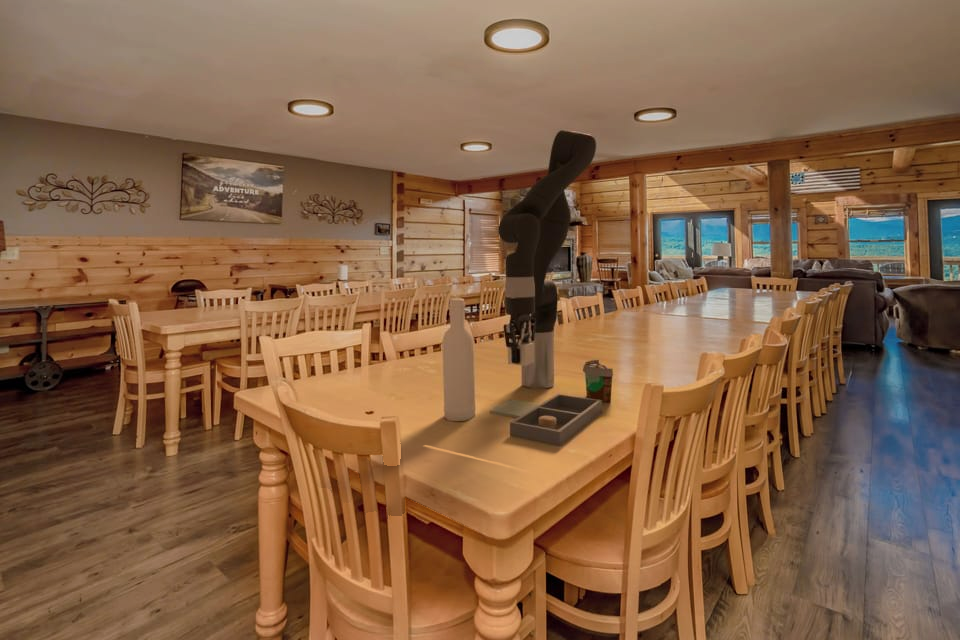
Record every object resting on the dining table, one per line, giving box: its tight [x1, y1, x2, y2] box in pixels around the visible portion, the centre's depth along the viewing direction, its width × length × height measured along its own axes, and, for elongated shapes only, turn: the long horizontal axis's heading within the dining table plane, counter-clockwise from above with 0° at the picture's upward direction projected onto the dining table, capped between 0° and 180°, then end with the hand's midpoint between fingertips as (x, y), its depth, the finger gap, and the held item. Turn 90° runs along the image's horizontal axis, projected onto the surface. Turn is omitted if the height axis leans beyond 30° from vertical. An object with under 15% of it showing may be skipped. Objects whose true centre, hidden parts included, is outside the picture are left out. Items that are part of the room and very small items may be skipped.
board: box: [489, 399, 541, 419], centre depth 127 cm, size 11×11×1 cm
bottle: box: [441, 297, 476, 422], centre depth 122 cm, size 8×8×30 cm
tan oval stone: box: [539, 416, 556, 430], centre depth 112 cm, size 4×4×3 cm
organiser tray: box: [509, 393, 603, 447], centre depth 117 cm, size 12×26×4 cm, turn 147°
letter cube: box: [507, 342, 534, 366], centre depth 125 cm, size 5×5×5 cm
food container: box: [582, 359, 614, 404], centre depth 136 cm, size 12×6×10 cm, turn 5°
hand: (521, 360), depth 126 cm, fingers closed on letter cube, 5 cm apart
